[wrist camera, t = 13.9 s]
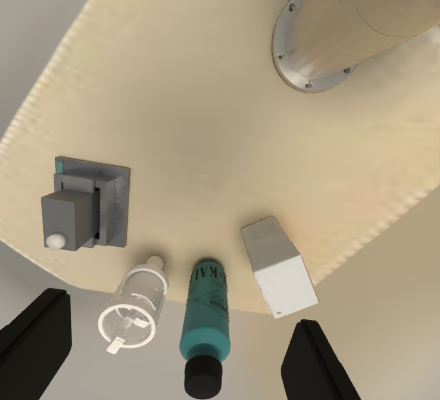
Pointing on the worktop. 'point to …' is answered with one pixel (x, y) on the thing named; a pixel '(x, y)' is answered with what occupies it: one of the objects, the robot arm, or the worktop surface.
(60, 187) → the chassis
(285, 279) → the small box
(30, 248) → the worktop surface
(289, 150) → the worktop surface
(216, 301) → the beverage bottle
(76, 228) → the lever
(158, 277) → the clear white hollow cylinder
